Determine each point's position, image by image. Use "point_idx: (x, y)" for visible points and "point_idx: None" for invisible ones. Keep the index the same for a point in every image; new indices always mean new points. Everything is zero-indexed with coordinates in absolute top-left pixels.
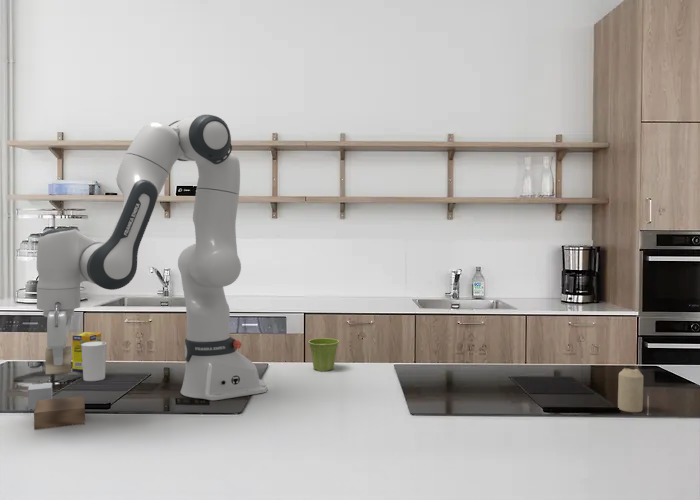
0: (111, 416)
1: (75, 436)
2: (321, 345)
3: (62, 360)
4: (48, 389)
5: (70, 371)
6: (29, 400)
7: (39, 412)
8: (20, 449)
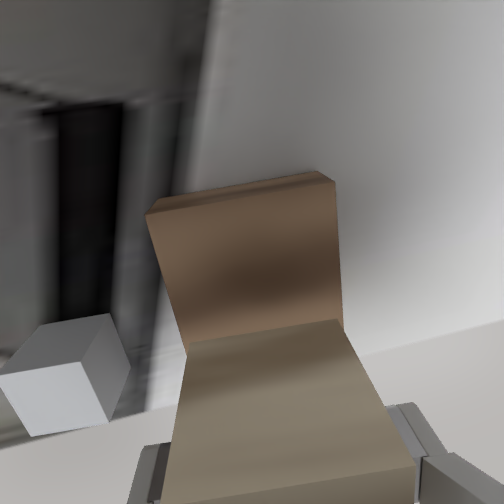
0: (244, 78)
1: (440, 176)
2: None
3: (429, 425)
4: (86, 365)
5: (329, 323)
6: (120, 387)
7: (342, 323)
8: (485, 297)
